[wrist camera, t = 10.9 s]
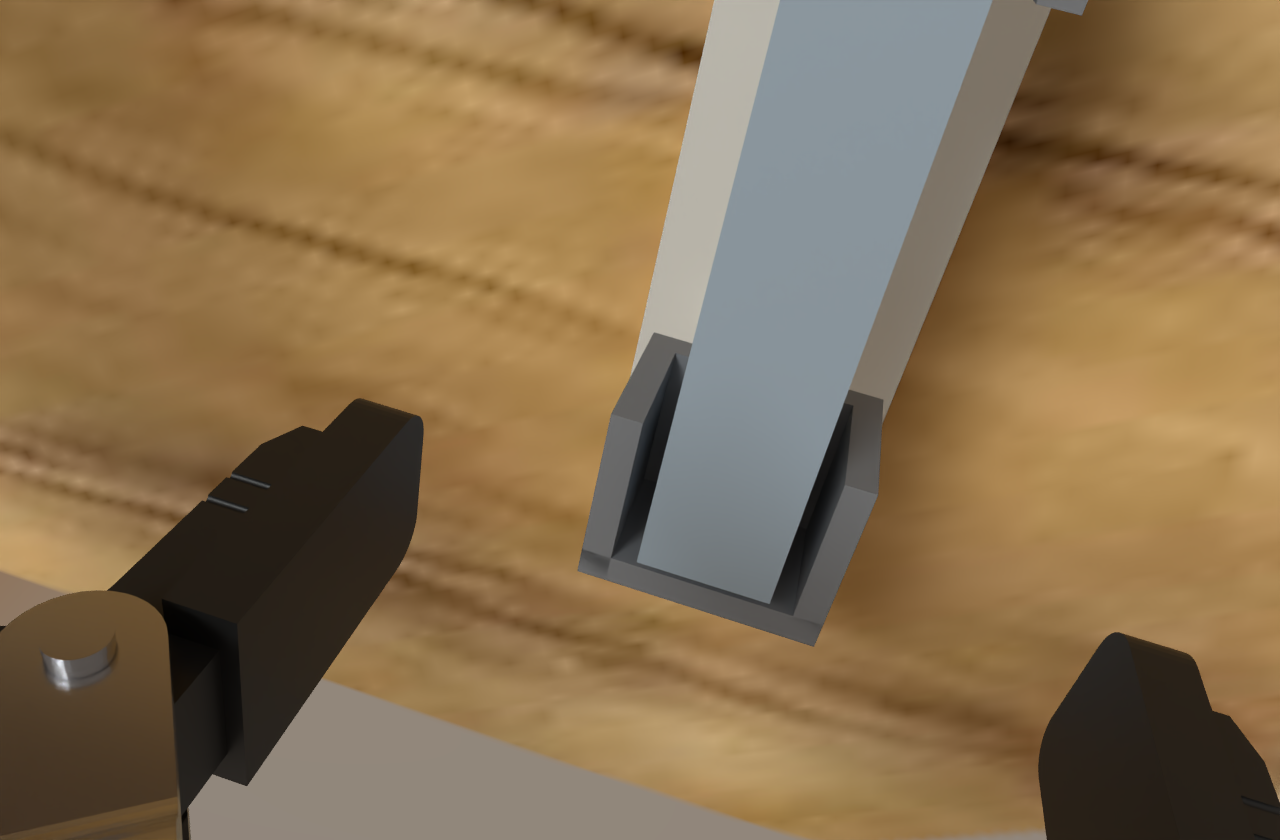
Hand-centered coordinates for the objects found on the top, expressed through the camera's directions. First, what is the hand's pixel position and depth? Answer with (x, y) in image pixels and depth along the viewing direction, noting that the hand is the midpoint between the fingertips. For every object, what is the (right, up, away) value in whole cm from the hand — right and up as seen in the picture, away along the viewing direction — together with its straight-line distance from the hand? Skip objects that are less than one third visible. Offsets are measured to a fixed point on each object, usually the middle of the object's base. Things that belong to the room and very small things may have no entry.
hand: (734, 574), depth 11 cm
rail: (+3, +7, +12) cm, 15 cm away
